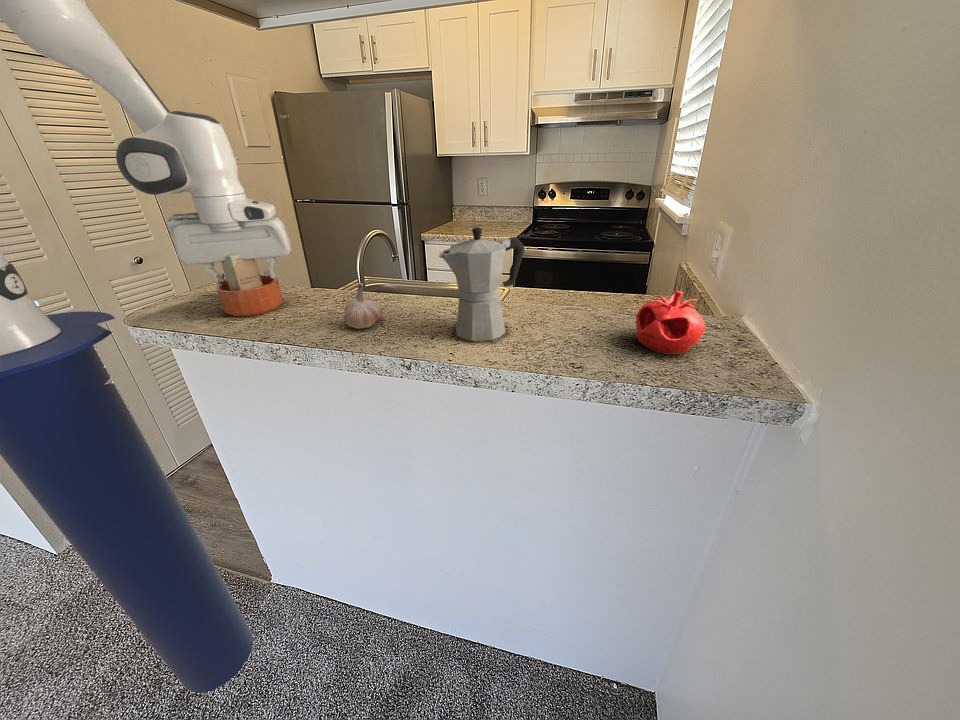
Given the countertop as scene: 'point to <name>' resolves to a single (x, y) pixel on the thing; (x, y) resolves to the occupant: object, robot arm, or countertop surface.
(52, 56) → the robot arm
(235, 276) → the box
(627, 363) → the countertop surface
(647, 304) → the pomegranate
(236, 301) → the bowl
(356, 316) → the garlic bulb
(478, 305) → the coffeepot
